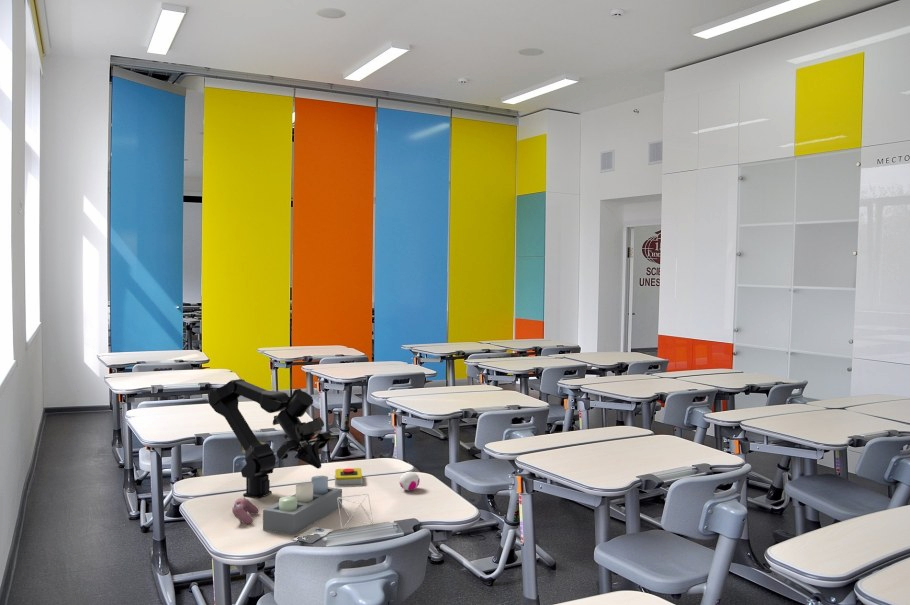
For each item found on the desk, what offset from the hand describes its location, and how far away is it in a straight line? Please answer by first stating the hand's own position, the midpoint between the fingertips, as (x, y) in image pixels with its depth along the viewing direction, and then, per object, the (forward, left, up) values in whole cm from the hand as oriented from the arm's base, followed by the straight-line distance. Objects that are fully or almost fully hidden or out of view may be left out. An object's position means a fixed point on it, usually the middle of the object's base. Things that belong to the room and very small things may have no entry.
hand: (319, 467), depth 205 cm
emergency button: (-8, +30, -13) cm, 34 cm away
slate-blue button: (0, 0, -8) cm, 8 cm away
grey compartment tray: (0, -8, -13) cm, 15 cm away
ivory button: (0, -8, -8) cm, 12 cm away
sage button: (0, -16, -10) cm, 19 cm away
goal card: (+10, -19, -13) cm, 25 cm away
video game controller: (-15, -15, -13) cm, 25 cm away
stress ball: (+17, +29, -13) cm, 35 cm away
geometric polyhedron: (+16, -7, -13) cm, 22 cm away
